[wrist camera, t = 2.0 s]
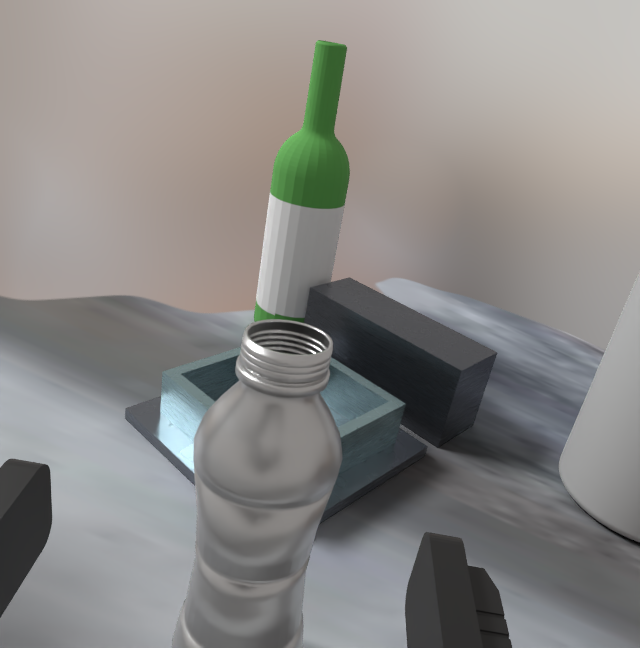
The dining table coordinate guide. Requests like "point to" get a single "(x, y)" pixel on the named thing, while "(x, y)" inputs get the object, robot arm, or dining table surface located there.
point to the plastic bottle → (261, 491)
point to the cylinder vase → (610, 432)
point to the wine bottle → (305, 199)
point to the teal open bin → (348, 388)
